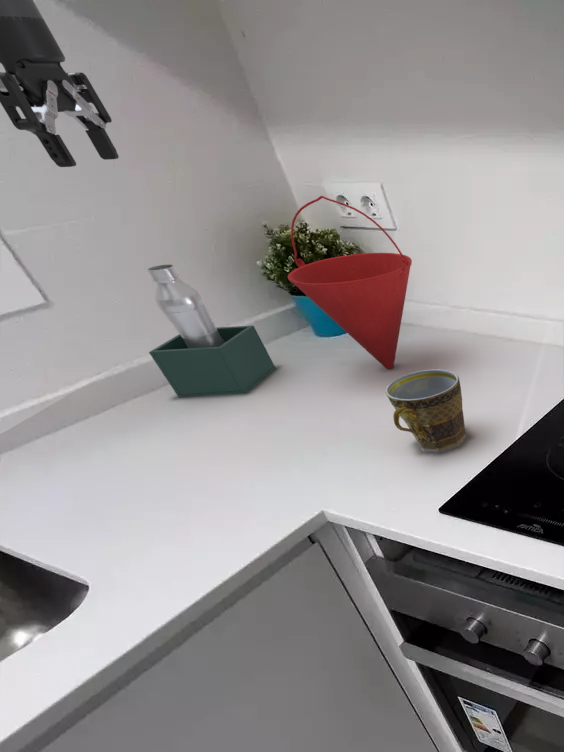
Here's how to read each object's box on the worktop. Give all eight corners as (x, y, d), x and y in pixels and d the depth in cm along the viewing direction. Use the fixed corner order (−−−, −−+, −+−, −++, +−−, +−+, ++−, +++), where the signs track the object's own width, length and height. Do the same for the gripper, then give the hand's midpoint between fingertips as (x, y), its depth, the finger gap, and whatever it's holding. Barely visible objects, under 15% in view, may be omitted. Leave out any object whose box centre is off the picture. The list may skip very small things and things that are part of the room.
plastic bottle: (224, 389, 100) (155, 274, 88) (197, 385, 102) (126, 271, 89) (255, 374, 105) (194, 263, 92) (229, 370, 107) (165, 261, 94)
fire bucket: (464, 352, 113) (417, 184, 94) (415, 395, 98) (347, 206, 79) (369, 348, 116) (304, 185, 97) (307, 390, 101) (216, 206, 82)
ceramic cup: (430, 425, 90) (410, 367, 83) (487, 429, 88) (470, 370, 82) (384, 470, 80) (356, 408, 73) (447, 475, 78) (425, 412, 72)
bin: (180, 399, 99) (148, 352, 94) (214, 374, 108) (187, 329, 102) (248, 395, 100) (220, 347, 94) (277, 370, 109) (253, 325, 103)
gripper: (19, 20, 76) (99, 158, 86) (-83, 10, 65) (22, 170, 75) (76, 19, 77) (149, 156, 87) (-16, 9, 66) (80, 168, 76)
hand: (90, 162), depth 81 cm, fingers open, 8 cm apart
